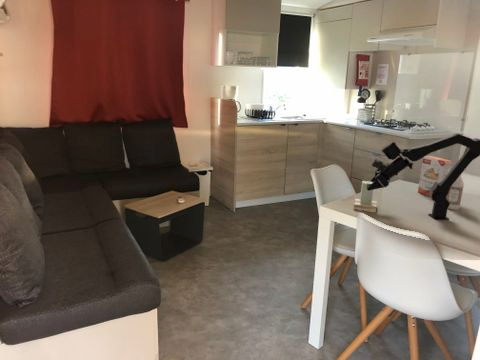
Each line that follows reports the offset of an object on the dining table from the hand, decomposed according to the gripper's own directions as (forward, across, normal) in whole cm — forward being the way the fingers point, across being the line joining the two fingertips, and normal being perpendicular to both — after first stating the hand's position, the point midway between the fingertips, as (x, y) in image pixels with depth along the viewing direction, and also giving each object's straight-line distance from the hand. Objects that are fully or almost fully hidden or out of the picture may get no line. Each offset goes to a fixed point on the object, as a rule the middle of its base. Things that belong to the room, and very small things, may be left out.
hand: (367, 187), depth 191 cm
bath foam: (-21, -20, +36) cm, 46 cm away
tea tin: (+6, 0, +5) cm, 8 cm away
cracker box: (-16, -40, +31) cm, 53 cm away
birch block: (+8, 0, +8) cm, 11 cm away
